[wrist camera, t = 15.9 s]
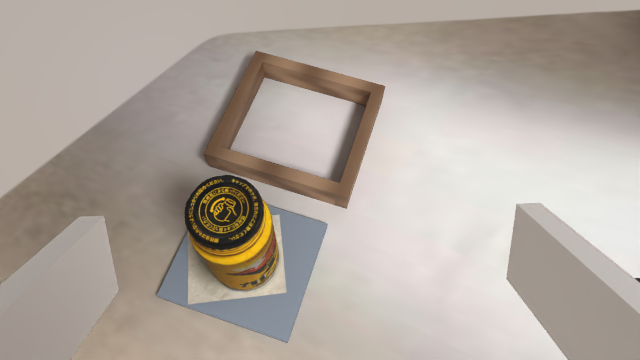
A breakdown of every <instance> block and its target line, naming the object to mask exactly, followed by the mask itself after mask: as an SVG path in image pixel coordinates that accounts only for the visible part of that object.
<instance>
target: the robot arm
mask: <svg viewBox="0 0 640 360" xmlns="http://www.w3.org/2000/svg"><path fill="white" fill-rule="evenodd" d="M506 279H507V280H508V281H509V283H510V284H511V285H512V287H513V288H514V289H515V291H516V292H517V293H518V295H519V296H520V297H521V298H522V300H523V301H524V302H525V304H526V305H527V306H528V308H529V309H530V310H531V312H532V313H533V314H534V316H535V317H536V318H537V320H538V321H539V322H540V324H541V325H542V326H543V328H544V329H545V330H546V331H547V333H548V334H549V335H550V337H551V338H552V339H553V341H554V342H555V343H556V345H557V346H558V347H559V349H560V350H561V351H562V353H563V354H564V355H565V357H566V358H567V359H568V360H640V278H633V277H632V276H631V275H630V274H628V273H627V272H626V271H625V270H623V269H622V268H621V267H620V266H618V265H617V264H616V263H615V262H613V261H612V260H611V259H610V258H608V257H607V256H606V255H605V254H603V253H602V252H601V251H600V250H598V249H597V248H596V247H595V246H593V245H592V244H591V243H590V242H588V241H587V240H586V239H585V238H583V237H582V236H581V235H580V234H578V233H577V232H576V231H575V230H573V229H572V228H571V227H570V226H568V225H567V224H566V223H565V222H563V221H562V220H561V219H560V218H558V217H557V216H556V215H555V214H553V213H552V212H551V211H549V210H548V209H547V208H546V207H544V206H543V205H542V204H541V203H531V204H517V205H516V212H515V220H514V227H513V234H512V241H511V249H510V256H509V263H508V271H507V278H506ZM118 291H119V289H118V284H117V279H116V274H115V269H114V264H113V259H112V254H111V249H110V244H109V239H108V234H107V229H106V224H105V219H104V216H79V217H78V218H77V219H76V220H75V221H74V222H72V223H71V224H70V225H69V226H68V227H67V228H65V229H64V230H63V231H62V232H61V233H60V234H59V235H57V236H56V237H55V238H54V239H53V240H52V241H50V242H49V243H48V244H47V245H46V246H45V247H43V248H42V249H41V250H40V251H39V252H38V253H36V254H35V255H34V256H33V257H32V258H31V259H30V260H28V261H27V262H26V263H25V264H24V265H23V266H21V267H20V268H19V269H18V270H17V271H16V272H14V273H13V274H12V275H11V276H10V277H9V278H8V279H6V280H5V281H4V282H3V283H2V284H1V285H0V360H71V358H72V357H73V356H74V354H75V353H76V351H77V350H78V348H79V347H80V346H81V344H82V343H83V341H84V340H85V338H86V337H87V336H88V334H89V333H90V331H91V330H92V328H93V327H94V326H95V324H96V323H97V321H98V320H99V318H100V317H101V316H102V314H103V313H104V311H105V310H106V308H107V307H108V306H109V304H110V303H111V301H112V300H113V298H114V297H115V295H116V294H117V293H118Z"/></svg>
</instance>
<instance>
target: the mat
mask: <svg viewBox="0 0 640 360" xmlns="http://www.w3.org/2000/svg"><path fill="white" fill-rule="evenodd" d="M267 206H268V207H269V210H270V213H271V215H280V226H281V237H282V247H283V258H284V269H285V280H286V291H287V292H286V293H280V294H271V295H264V296H255V297H247V298H239V299H229V300H221V301H211V302H205V303H195V304H188V231H187V234H186V236H185V238H184V240H183V242H182V244H181V246H180V248H179V250H178V252H177V254H176V256H175V258H174V260H173V262H172V265H171V267H170V269H169V271H168V273H167V275H166V277H165V279H164V281H163V283H162V285H161V287H160V289H159V291H158V293H157V297H159V298H161V299H164V300H167V301H170V302H173V303H176V304H178V305H181V306H184V307H187V308H190V309H193V310H195V311H198V312H201V313H204V314H207V315H210V316H212V317H215V318H218V319H221V320H224V321H227V322H229V323H232V324H235V325H238V326H241V327H244V328H247V329H249V330H252V331H255V332H258V333H261V334H264V335H266V336H269V337H272V338H275V339H278V340H281V341H283V342H286V343H288V340H289V337H290V335H291V332H292V329H293V326H294V323H295V320H296V317H297V314H298V311H299V308H300V305H301V302H302V299H303V296H304V293H305V290H306V288H307V285H308V282H309V279H310V276H311V273H312V270H313V267H314V264H315V261H316V258H317V255H318V252H319V249H320V246H321V244H322V241H323V238H324V235H325V232H326V229H327V225H328V224H326V223H323V222H320V221H317V220H314V219H310V218H307V217H304V216H301V215H298V214H295V213H291V212H288V211H285V210H282V209H279V208H276V207H272V206H269V205H267ZM211 277H212V276H211ZM215 280H216V278H215Z"/></svg>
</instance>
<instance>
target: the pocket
mask: <svg viewBox="0 0 640 360" xmlns="http://www.w3.org/2000/svg"><path fill="white" fill-rule="evenodd" d="M264 77H266V78H270V79H273V80H277V81H280V82H284V83H288V84H291V85H295V86H298V87H302V88H305V89H309V90H313V91H316V92H320V93H323V94H327V95H330V96H334V97H337V98H341V99H345V100H348V101H352V102H355V103H359V104H362V105H366V108H365V111H364V114H363V117H362V120H361V123H360V126H359V129H358V132H357V135H356V138H355V140H354V143H353V146H352V149H351V152H350V155H349V158H348V161H347V164H346V167H345V170H344V173H343V175H342V178H341V181H340V183H338V182H335V181H331V180H328V179H325V178H321V177H318V176H315V175H311V174H308V173H305V172H302V171H298V170H295V169H292V168H288V167H285V166H282V165H279V164H275V163H272V162H269V161H265V160H262V159H259V158H255V157H252V156H249V155H246V154H242V153H239V152H236V151H232V150H230V148H231V146H232V143H233V141H234V139H235V137H236V135H237V133H238V131H239V129H240V127H241V125H242V123H243V121H244V119H245V116H246V114H247V112H248V110H249V108H250V106H251V104H252V102H253V100H254V98H255V96H256V94H257V92H258V89H259V87H260V85H261V83H262V81H263V79H264ZM384 89H385V86H383V85H379V84H376V83H372V82H368V81H365V80H361V79H357V78H354V77H350V76H346V75H343V74H339V73H335V72H332V71H328V70H324V69H321V68H317V67H313V66H310V65H306V64H302V63H299V62H295V61H292V60H288V59H284V58H281V57H277V56H273V55H270V54H266V53H262V52H259V51H256V52H255V54H254V56H253V58H252V60H251V62H250V64H249V66H248V68H247V69H246V71H245V73H244V75H243V77H242V79H241V81H240V83H239V85H238V87H237V89H236V91H235V93H234V95H233V97H232V99H231V101H230V103H229V105H228V107H227V109H226V111H225V113H224V115H223V117H222V119H221V121H220V123H219V125H218V127H217V128H216V130H215V132H214V134H213V136H212V138H211V140H210V142H209V144H208V146H207V148H206V150H205V152H204V156H205V158H206V160H207V163H208V165H209V166H211V167H214V168H217V169H221V170H224V171H227V172H230V173H233V174H237V175H240V176H243V177H246V178H250V179H253V180H256V181H259V182H262V183H266V184H269V185H272V186H275V187H279V188H282V189H285V190H288V191H292V192H295V193H298V194H301V195H304V196H308V197H311V198H314V199H317V200H321V201H324V202H327V203H330V204H333V205H337V206H340V207H343V208H346V209H347V206H348V203H349V199H350V196H351V193H352V190H353V187H354V184H355V181H356V178H357V175H358V172H359V169H360V166H361V163H362V160H363V157H364V154H365V150H366V147H367V144H368V141H369V138H370V135H371V132H372V129H373V126H374V123H375V120H376V117H377V114H378V111H379V108H380V105H381V102H382V98H383V94H384Z"/></svg>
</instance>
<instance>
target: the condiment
mask: <svg viewBox="0 0 640 360" xmlns="http://www.w3.org/2000/svg"><path fill="white" fill-rule="evenodd" d="M185 224H186V226H187V230H188V304H195V303H205V302H211V301H221V300H229V299H239V298H247V297H255V296H264V295H271V294H280V293H286V292H287V291H286V280H285V269H284V258H283V247H282V237H281V226H280V215H271V213H270V210H269V207H268V206H267V204H266V203H265V202H264V200H263V199H262V198H261V196H260V194H259V192H258V191H257V189H255V187H254V186H253V185H252V184H251V183H249V182H248V181H247V180H245V179H242V178H238V177H235V176H231V175H223V176H217V177H212V178H210V179H207V180H205V181H204V182H202V183H201V184H200V185H199V186H198V187H197V188H196V189H195V191H194V192H193V193H192V194H191V196H190V198H189V199H188V201H187V203H186V207H185ZM211 276H212V277H211ZM215 278H216V280H215Z"/></svg>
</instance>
